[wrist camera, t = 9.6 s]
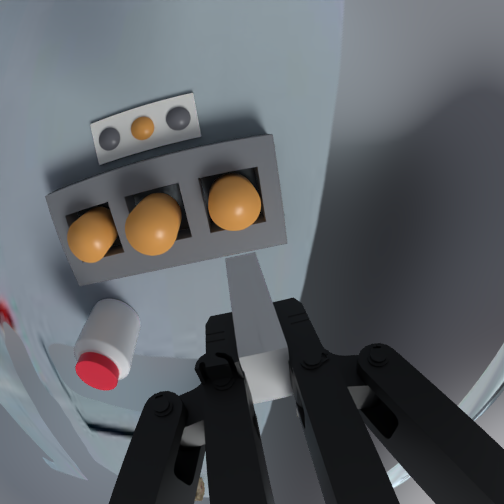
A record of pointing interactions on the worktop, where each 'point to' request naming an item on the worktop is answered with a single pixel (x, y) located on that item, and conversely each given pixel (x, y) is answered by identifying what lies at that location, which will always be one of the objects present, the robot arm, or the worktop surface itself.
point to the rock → (200, 490)
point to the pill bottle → (107, 344)
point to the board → (189, 178)
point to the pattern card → (146, 128)
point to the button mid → (154, 224)
